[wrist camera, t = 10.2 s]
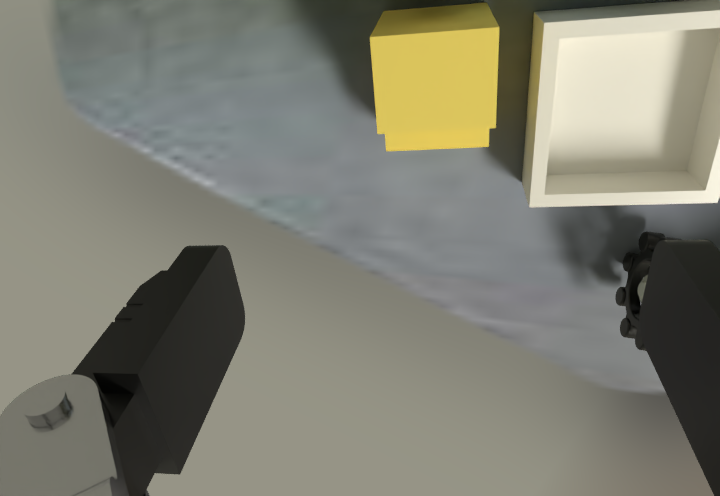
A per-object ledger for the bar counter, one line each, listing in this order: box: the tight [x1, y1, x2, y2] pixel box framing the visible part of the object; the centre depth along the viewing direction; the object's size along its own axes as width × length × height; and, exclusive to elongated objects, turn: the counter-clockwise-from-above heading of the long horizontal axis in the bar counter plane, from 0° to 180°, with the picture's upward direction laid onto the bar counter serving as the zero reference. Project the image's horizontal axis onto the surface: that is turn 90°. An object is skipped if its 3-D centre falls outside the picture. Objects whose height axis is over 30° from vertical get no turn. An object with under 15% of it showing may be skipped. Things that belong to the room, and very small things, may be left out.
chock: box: [370, 2, 499, 151], centre depth 25 cm, size 6×5×6 cm
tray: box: [522, 0, 720, 207], centre depth 27 cm, size 9×9×3 cm
